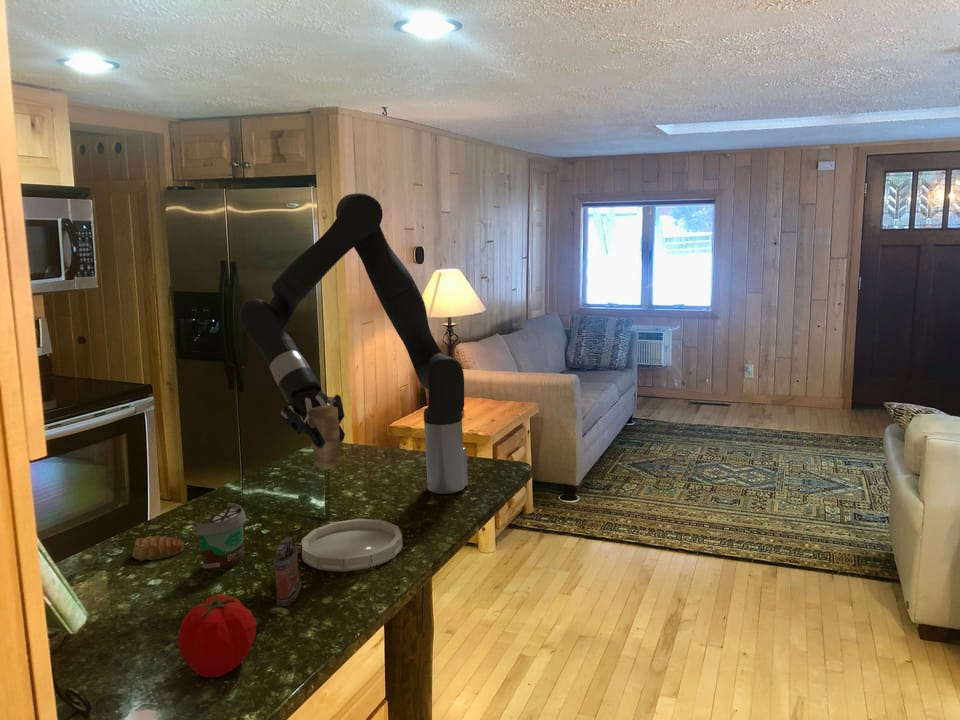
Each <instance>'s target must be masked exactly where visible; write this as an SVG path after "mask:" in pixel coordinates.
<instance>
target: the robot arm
mask: <svg viewBox="0 0 960 720" xmlns="http://www.w3.org/2000/svg"><path fill="white" fill-rule="evenodd" d="M335 211H336V212H335V217H336V219H335V220H334V222H333V223H332V224H331V226H330V227H329V228H327V230H326V232H325V233H323V234H322V236H321V237H320V238H319V239H318V240H317V241H316V242H314V243H313V244H312V245H311V246H310V247H309V248H307V249H305V251H304V252H303V253H301V254H300V255H298V256H297V258H295V259H294V260H293V261H292V262H291V263H290V264H289V266H287V267H286V268H285V269H284V271H282V272H281V274H280V275H279V276H278V277H276V279H275V280H274V281H273V283H272V285H271V291H272V293H273V297H272V298H271V300H270V302H269V303H268V302H266V301H265V300H263V299H261V298H251V299H248V300H246V301H245V302H244V303H243V304H242V305H241V307H240V310H239V316H238V317H239V321H240V323H241V326H242V328H243V329H244V331H245V332H246V334H247V335H248V336H249V338H250V339H251V340H252V342H253V343H254V344H255V345H256V346H257V348H258V349H259V351H260V352H261V354H262V357H263V358H264V360H265V362H266V364H267V366H268V367H269V369H270V372H271V373H272V374H271V375H272V376H273V377H272V378H273V379H274V381H275V383H276V385H277V386H278V389H279V390H280V391H281V394H282V395H283V397H284V399H285V401H286V402H287V404H288V406H283V407H282V410H281V412H280V414H279V417H280V418H281V419H282V420H283V421H284V422H285V423H286V424H287V425H288V426H289V427H291V428H292V430H293V431H295V432H296V434H297V435H302V434H307V435H308V437H309V438H310V440H311V441H312V442H311V443H312V445H313V444H314V445H315V446H316V447H318V448H319V449H320V448H323V446H324V445H325V441H324V439H323V438H322V436H321V434H320V432H319V431H318V429H317V428H315V423H314V421H313V419H312V415H311V413H310V410H309V409H311V408H315V407H319V406H323V405H329V406H333V407H337V409H338V420H339V432H340V433H339V434H340V443H341V444H342V443H343V441H344V440H345V436H346V433H345V432H344V430H343V428H342V427H341V425H340V424H341V423H342V421H343V419H344V418H345V412H344V407H343V403H342V398H341V396H340V394H335V395H334V396H328V395H327V394H326V393H325V392H323V391H322V388H321V384H320V382H319V380H318V379H317V377H316V375H315V374H314V372H313V370H312V369H311V368H312V367H311V366H309V363H308V362H307V360H306V359H305V357H304V356H303V355H302V354H301V351H300V350H299V349H298V347H297V345H296V343H295V342H294V340H293V339H292V337H291V336H289V334H288V333H286V331H285V330H284V329H285V328H286V327H287V325H288V324H289V322H290V320H291V318H292V316H293V315H294V313H295V311H296V310H297V307H298V305H299V304H300V303H301V302H302V301H303V299H305V298H306V296H307V295H308V294H310V292H311V291H312V290H313V289H315V287H316V286H317V285H318V283H319V282H320V281H321V280H322V279H323V278H324V277H325V276H326V275H327V273H328V272H330V270H331V269H332V268H333V267H334V266H335V265H336V264H337V263H338V262H339V261H340V260H341V259H342V258H343V257H344V256H345V255H346V254H347V253H348V252H349V251H351V250H352V249H354V250H355V252H356V253H357V254H358V256H359V259H360V260H361V262H362V265H363V267H364V270H365V272H366V274H367V277H368V279H369V281H370V284H371V285H372V287H373V290H374V291H375V294H376V297H377V298H378V301H379V302H380V304H381V306H382V308H383V310H384V311H385V313H386V316H387V317H388V319H389V320H390V322H391V325H392V326H393V328H394V330H395V331H396V334H397V335H398V337H399V338H400V340H401V341H402V343H403V344H404V347H405V348H406V351H407V354H408V356H409V358H410V361H411V364H412V366H413V369H414V372H415V374H416V377H417V379H418V381H419V382H420V384H421V385H422V386H423V387H424V388H426V389H427V390H428V405H427V407H426V408H425V409H424V410H423V420H424V421H423V426H424V428H423V429H424V443H425V444H424V445H425V465H426V481H427V490H428V491H429V492H431V493H433V494H440V495H442V494H443V495H444V494H445V495H448V494H454V493H459V492H461V491H463V490H464V489H465V487H467V486H468V485H469V480H468V458H467V456H468V455H467V448H466V447H465V446H464V438H463V437H464V435H463V411H464V408H465V375H464V370H463V369H464V368H463V367H462V365H461V363H460V362H459V360H457V359H456V358H454V357H451V356H448V355H445V354H444V352H443V351H442V350H441V348H440V347H439V345H438V343H437V341H436V340H435V338H434V335H433V334H432V331H431V328H430V325H429V320H428V312H427V309H426V305H425V301H424V298H423V296H422V293H421V291H420V290H419V288H418V285H417V283H416V282H415V280H414V278H413V277H412V275H411V273H410V272H409V270H408V269H407V267H406V266H405V264H404V263H403V262H402V261H401V259H400V258H399V257H398V256H397V254H396V253H395V252H394V250H393V249H392V247H391V246H390V245H389V243H388V240H387V239H386V237H385V235H384V232H383V230H382V228H381V224H382V220H383V208H382V206H381V203H380V202H379V201H378V199H377V198H376V197H374V196H372V195H370V194H367V193H362V192H361V193H360V192H359V193H350V194H347V195H345V196H343V197H342V198H341V199H340V200H339V201H338V203H337V205H336V208H335ZM299 416H300V417H299Z"/></svg>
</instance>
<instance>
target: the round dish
mask: <svg viewBox="0 0 960 720" xmlns="http://www.w3.org/2000/svg"><path fill="white" fill-rule="evenodd" d="M301 547H302V548H301V558H302V560H303V562H304V563H305V564H306V565H308V566H309V567H312V568H314V569H317V570H321V571H328V572H343V573H344V572H350V571H351V572H352V571H359V570H360V571H361V570H365V569H370V567H371V568H374V567H377V566H379V565H382V564H385V563H387V562H388V561H390V559H391V560H392V559H394V558H395V557H397V556H398V555H399V554H400V552H401V551H402V549H403V547H404V545H403V534H402V531H401V529H400V528H399V526H398V525H396V524H393V523H391V522H388V521H386V520H384V519H383V520H382V519H372V518H371V519H370V518H356V519H355V518H354V519H347V520H342V521H341V520H340V521H339V520H338V521H334V522H331V523H328V524H325V525H321V526H320V527H317V528H314V529H313V530H311V531H310V532H309V533H307V534H306V535H305V536H304V537H302V539H301ZM398 553H399V554H398ZM397 554H398V555H397ZM396 555H397V556H396ZM376 565H377V566H376ZM373 566H374V567H373Z"/></svg>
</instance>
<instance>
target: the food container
mask: <svg viewBox="0 0 960 720" xmlns="http://www.w3.org/2000/svg"><path fill="white" fill-rule="evenodd" d="M226 505H227V508H225V509H224V510H222V511H221V512H219V513H216V514H214V515H212V516H211V517H210V519H208V520H207V521H206V522H205V523H196V527H195V528H196V530H195V535H196V536H198V541H199V547H200V551H201V556H202V563H203V569H204V572H216V571H215V570H219V571H222V570H221V569H224V570H226V569H225V568H228V569H230V568H229V567H231V568H233V567H236V566H238V565H239V564H241V562H242V561H243V560H244V558H243V557H244V524H245V522H246V521H247V516H246V512H245V510H244V509H243V507H242V506H241V505H239V504H238V503H232V502H227V504H226ZM238 563H239V564H238ZM232 566H233V567H232ZM213 570H214V571H213Z"/></svg>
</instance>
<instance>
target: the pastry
mask: <svg viewBox="0 0 960 720" xmlns="http://www.w3.org/2000/svg"><path fill="white" fill-rule="evenodd" d="M184 545H185V541H183V540H181V539H178V538H175V537H168V536H161V535H158V534H157V535H155V536H152V535H148V536H147V537H145V538H144V537H138V538H136V540H135V541H134V545H133V554H132V557H133V559H135V560H137V561H142V562H143V561H145V560H149V561H155V560H161V559H165V557H166V558H170V556H171V557H174V556H176V555H179V554H181V553H182V552H183V550H184V549H185V548H184ZM160 558H161V559H160Z"/></svg>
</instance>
